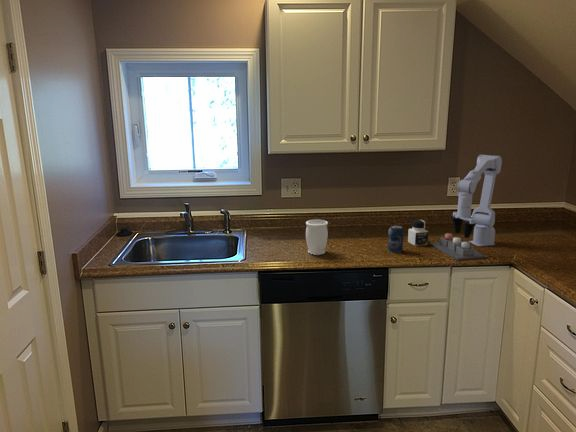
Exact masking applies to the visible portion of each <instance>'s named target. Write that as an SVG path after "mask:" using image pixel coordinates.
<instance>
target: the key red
mask: <svg viewBox="0 0 576 432" xmlns="http://www.w3.org/2000/svg"><path fill="white" fill-rule="evenodd" d="M453 235H454V234H453V233H450V232H449V233H448V232H447V233H444V237H445V240H452V238H454V237H453Z"/></svg>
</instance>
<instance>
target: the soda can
mask: <svg viewBox="0 0 576 432" xmlns="http://www.w3.org/2000/svg"><path fill="white" fill-rule="evenodd" d="M387 236H388V237H387V250H388V251H389V252H390V253H393V254H398V253H401V252H402V251H403V246H404V228H403V226H401V225H395V224H394V225H390V226H389V228H388V234H387Z"/></svg>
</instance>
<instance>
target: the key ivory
mask: <svg viewBox="0 0 576 432" xmlns="http://www.w3.org/2000/svg"><path fill="white" fill-rule="evenodd" d="M461 242H462V238H461V237H453V244H455V245H457V244H461Z"/></svg>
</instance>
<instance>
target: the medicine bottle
mask: <svg viewBox="0 0 576 432" xmlns="http://www.w3.org/2000/svg"><path fill="white" fill-rule="evenodd" d="M407 235H408V236H407V243H409V244H411V245H412V246H414V247H420V246H427V245H428V244H429V243H428V242H429V231H428V230H426V220H423V219H414V220H413V221H412V228H408V233H407Z"/></svg>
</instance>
